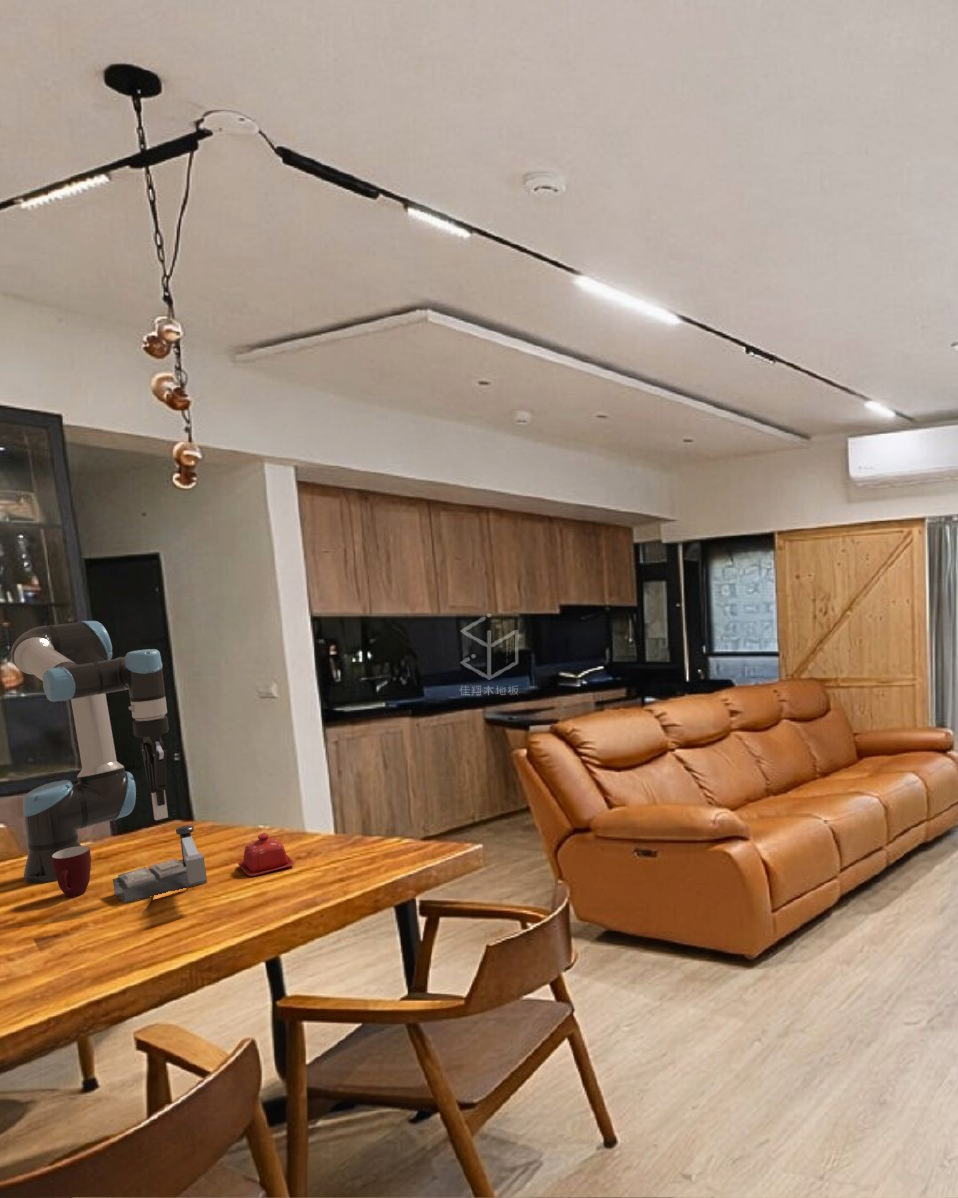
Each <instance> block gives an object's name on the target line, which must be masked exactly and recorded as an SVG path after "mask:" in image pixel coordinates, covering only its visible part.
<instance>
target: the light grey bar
mask: <svg viewBox="0 0 958 1198" xmlns="http://www.w3.org/2000/svg"><path fill="white" fill-rule="evenodd" d="M182 846H183V855H184V861H185V864H186V870H187V879H188V882H189V884H190V883H195V882H199V881H203V880H206V877H207V871H205V868H206V864H205V863H206V862H205V856H204V854H203V853H202V852H201V853H199V850H198V848H197V846H196V843H195V841H194V839H193V837H192V835H191V837H186V838H182Z"/></svg>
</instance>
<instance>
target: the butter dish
mask: <svg viewBox="0 0 958 1198" xmlns="http://www.w3.org/2000/svg"><path fill="white" fill-rule="evenodd" d="M257 838H258V839H257V840H254V841H251V842H249V843H247V844H246V846H245V848H244V852H243V853H244V854H243V860H241V861H238V862H237V865H238V867H240V869H241V870H242V871H243V872H244V873H245V874H246V875H248V876H250V877H256V876H259V875H264V874H268V873H271V872H275V871H278V870H282V869H285V868H286V869H287V868H289V867H291V866H294V865H295V864H296V863H295V861H294V860H293V859H292V858H291V857H290V856H289V855H288V854H287V853H286V849H285V846H284V845H283V843H282V842H281V841H280V840H279V839H277V838H275V837H269V834H268V833H267V832H266V833H265V832H263V833H259V834H258V835H257Z"/></svg>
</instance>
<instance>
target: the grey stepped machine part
mask: <svg viewBox="0 0 958 1198" xmlns="http://www.w3.org/2000/svg"><path fill="white" fill-rule="evenodd" d="M194 831H195V827H194V825H183V826H179V827H177V828H175V834H176V835H179V838H180V848H181V855H182V859H180V860H178V859H176V858H174V859H170V860H165V861H163V862H159V863H155V864H151V865H149V868H146V867H142V868H141V867H140V868H137V869H134V870H130V871H127V872H123V873H120V874H117V877H116V878H114V879H112V881H113V892H114V895H115V896H116V898H118V899H119V900H120V899H121V900H122V902H123V903H124V904H125V903H126V904H129V903H128V902H130V903H133V902H132V901H134V902H136V901H135V900H138V899H142V900H145V898H146V899H149V898H148V897H150V896H154V895H158V894H162V893H166V892H168V891H175V890H179V889H183V888H187V887H188V888H191V887H190V886H192V887H195V886H194V885H196V886H199V885H198V884H200V885H203V884H202V883H204V884H207V883H208V878H207V876H206V880H203V881H199V882H195V883H190V884H189V882H188V879H187V870H186V864H185V861H184V855H183V846H182V838H186V837H191V836H192V833H193V832H194ZM206 870H207V869H206V867H205V871H206ZM206 872H207V871H206ZM188 888H187V889H188ZM150 898H151V897H150ZM121 900H120V901H121ZM138 901H139V900H138Z"/></svg>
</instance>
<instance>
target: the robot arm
mask: <svg viewBox="0 0 958 1198" xmlns="http://www.w3.org/2000/svg"><path fill="white" fill-rule="evenodd" d="M10 657H11V661H12V663H13V665H14V666H15V667H16V668H17V669H18V670H19V671H20V672H23V673H25V674H28V675H34V676H35V677H37V678H38V679H39V680H40V681H42V685H43V686H42V688H43V692H44V695H45V696H46V699H47V700H48V701H50V702H61V701H62V702H67V701H71V707H72V714H73V720H74V727H75V731H76V732H75V733H76V738H77V743H78V744H77V745H78V751H79V756H80V762H81V770H80V772H79V773H78V774H77V777H76V778H77V783H75V784H73V783H72V781H71V780H69V779H68V780H67V779H65V780H64V779H63V780H58V781H53V782H49V783H46V784H43V785H40V786H37V787H36V788H33V789H32V790H30V791H29V792H27V793H26V795H25V796H24V797H23V801H22V802H23V803H22V804H23V811H22V813H23V817H24V823H25V832H26V840H27V841H26V842H27V847H28V848H27V849H28V854H27V859H26V862H25V867H24V872H23V878H24V879H23V880H24V883H26V884H33V885H35V884H36V885H37V884H38V885H39V884H47V883H54V882H57V879H56V875H55V872H54V869H53V864H52V855H53V854H54V853H56V852H58V851H60V850H63V849H66V848H70V847H76V846H82V845H81V842H80V841H79V834H78V832H79V831H78V830H80V829H84V828H89V827H92V826H95V825H99V824H104V823H106V822H111V821H116V820H118V819H120V818H125V817H127V816H129V815H130V814H131V813H132V812H133V810H134V808H135V805H136V799H137V797H136V795H137V793H136V792H137V789H136V788H137V787H136V781H135V780H134V776H133V774H132V773H131V772H129V771H125V766H124V765H123V764H121V763H120V762H118V761H117V755H116V748H115V744H114V737H113V731H112V724H111V720H110V719H111V718H110V713H109V707H108V701H107V694H109V693H115V692H122V691H126V690H128V693H129V700H130V706H128V710H129V711H131V717H132V718H133V719H134V720H133V721H132V729H133V730H132V731H133V735H134V737H136V738H142V741H143V743H141V744H140V747H139V748H140V750H141V754H142V759H143V764H144V766H143V767H144V771H145V776H146V782H147V783H146V784H147V787H149V789H150V790H149V791H150V792H149V793H150V794H151V802H152V810H153V819H154V820H155V821H160V820H163V819H166V818H169V815H168V814H169V813H168V805H167V795H166V794H167V793H166V790H167V789H168V788H169V786H168V785H169V784H168V782H169V781H168V762H167V757H168V750H167V749H165V742H164V740H163V739H162V735H163V734H167V733H168V732H169V731H170V727H169V718H168V716H167V714H168V708H167V707H168V706H167V700H166V699H167V698H166V691H165V682H164V673H163V672H164V671H163V662H162V657H161V653H160V651H159V650H158V649H155V648H151V649H150V648H148V649H139V650H132V651H128V652H127V653H126V654H125V656H119V657H117V658H114V659H112V658H113V645H112V642H111V638H110V635H109V633H108V631H107V629H106V628H105V626H104V625H103V623H100V622H99V621H98V620H97V621H96V620H80V621H76V622H75V621H74V622H67V623H59V624H51V625H42V626H41V625H40V626H37V627H33V628H32V629H28V630H27V631H25V632H24V633H22V634H20V636H18V638H17V639H16V640H15V642H14V643H13V645H12V647H11V652H10ZM162 740H163V741H162Z"/></svg>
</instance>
